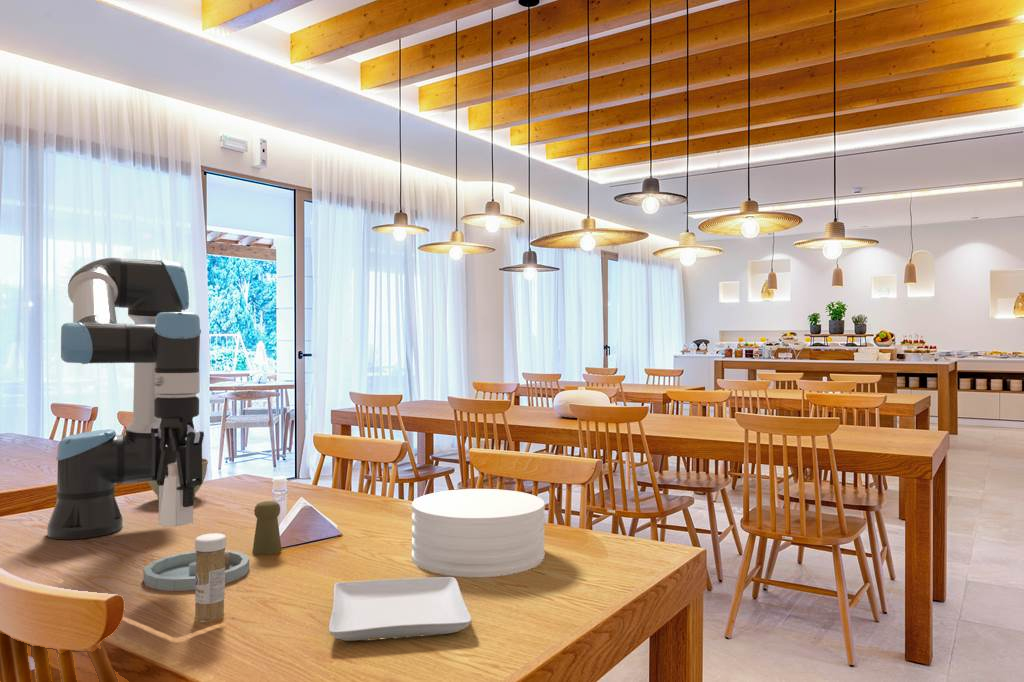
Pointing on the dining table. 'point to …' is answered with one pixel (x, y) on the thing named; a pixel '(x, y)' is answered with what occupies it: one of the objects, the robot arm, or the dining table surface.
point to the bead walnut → (227, 560)
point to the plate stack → (478, 532)
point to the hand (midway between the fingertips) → (175, 521)
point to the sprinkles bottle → (210, 577)
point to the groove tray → (188, 571)
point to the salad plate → (397, 608)
